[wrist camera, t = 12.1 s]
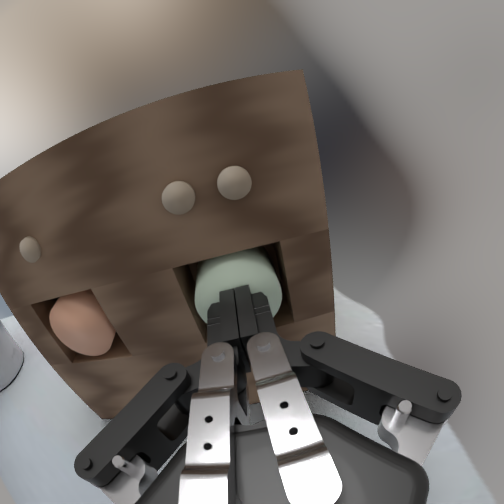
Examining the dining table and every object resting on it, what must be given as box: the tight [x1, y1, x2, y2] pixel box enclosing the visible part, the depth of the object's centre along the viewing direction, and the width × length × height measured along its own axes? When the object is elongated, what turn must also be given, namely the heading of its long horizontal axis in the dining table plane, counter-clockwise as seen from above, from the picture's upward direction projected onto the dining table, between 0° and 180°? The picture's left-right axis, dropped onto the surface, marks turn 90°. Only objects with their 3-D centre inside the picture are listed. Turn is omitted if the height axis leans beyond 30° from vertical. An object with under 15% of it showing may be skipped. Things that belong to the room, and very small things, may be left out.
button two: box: [195, 246, 282, 323], centre depth 15 cm, size 4×3×4 cm
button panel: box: [0, 70, 335, 419], centre depth 16 cm, size 20×4×20 cm, turn 96°
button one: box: [49, 289, 116, 356], centre depth 16 cm, size 4×3×4 cm
